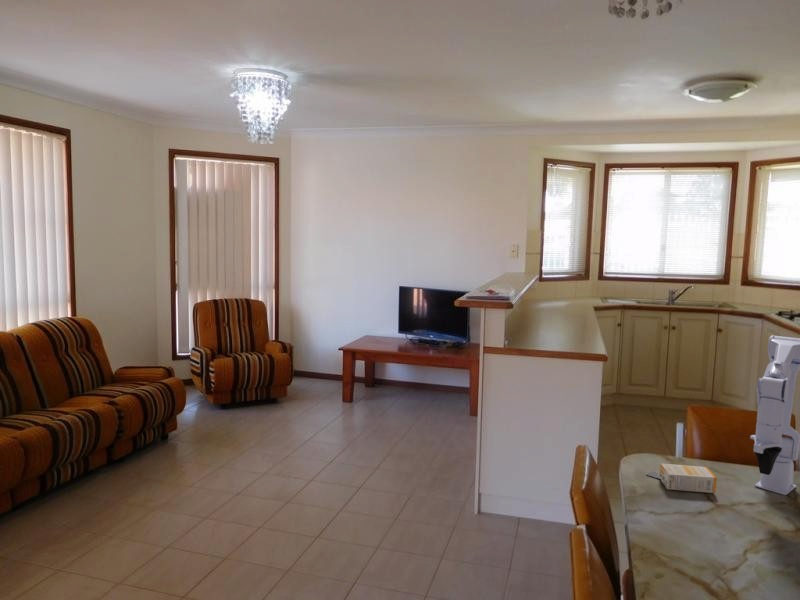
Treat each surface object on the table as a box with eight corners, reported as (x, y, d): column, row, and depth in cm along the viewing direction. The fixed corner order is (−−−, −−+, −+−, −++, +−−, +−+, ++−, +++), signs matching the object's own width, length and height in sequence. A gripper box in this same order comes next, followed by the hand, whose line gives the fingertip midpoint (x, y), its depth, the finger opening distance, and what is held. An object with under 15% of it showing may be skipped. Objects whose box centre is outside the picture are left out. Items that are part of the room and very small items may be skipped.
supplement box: (705, 482, 173) (658, 478, 175) (707, 466, 173) (659, 462, 175) (715, 494, 165) (666, 490, 167) (717, 477, 165) (667, 473, 167)
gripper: (762, 414, 161) (758, 462, 163) (742, 424, 152) (738, 475, 153) (791, 420, 156) (787, 470, 157) (773, 431, 146) (768, 484, 148)
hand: (765, 473), depth 155 cm, fingers closed
